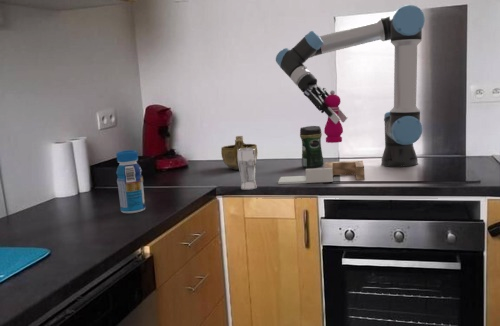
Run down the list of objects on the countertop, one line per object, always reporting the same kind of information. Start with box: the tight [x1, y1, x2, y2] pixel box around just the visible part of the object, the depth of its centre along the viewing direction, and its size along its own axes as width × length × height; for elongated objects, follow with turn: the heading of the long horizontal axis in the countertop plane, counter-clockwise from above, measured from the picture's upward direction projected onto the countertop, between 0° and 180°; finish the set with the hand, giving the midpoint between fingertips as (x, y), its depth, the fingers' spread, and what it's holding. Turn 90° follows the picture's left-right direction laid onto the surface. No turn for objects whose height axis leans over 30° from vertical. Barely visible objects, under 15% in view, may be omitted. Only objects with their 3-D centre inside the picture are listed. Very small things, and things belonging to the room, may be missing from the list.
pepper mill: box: [323, 90, 344, 144], centre depth 192 cm, size 7×7×20 cm
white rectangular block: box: [305, 167, 334, 184], centre depth 188 cm, size 10×2×5 cm, turn 80°
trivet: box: [277, 175, 307, 185], centre depth 195 cm, size 11×11×1 cm
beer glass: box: [237, 148, 258, 191], centre depth 186 cm, size 7×7×15 cm
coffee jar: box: [299, 125, 325, 169], centre depth 224 cm, size 10×8×19 cm
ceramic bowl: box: [220, 135, 258, 171], centre depth 232 cm, size 22×17×15 cm
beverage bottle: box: [115, 149, 146, 214], centre depth 163 cm, size 8×8×20 cm
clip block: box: [324, 160, 366, 181], centre depth 196 cm, size 15×14×5 cm
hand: (341, 120), depth 189 cm, fingers closed on pepper mill, 5 cm apart
